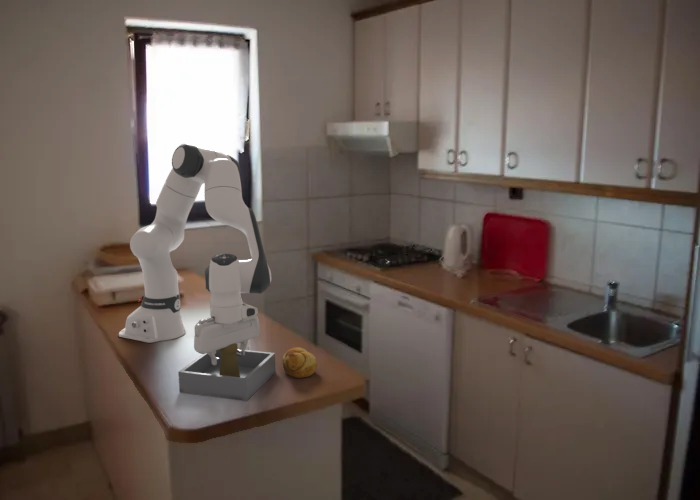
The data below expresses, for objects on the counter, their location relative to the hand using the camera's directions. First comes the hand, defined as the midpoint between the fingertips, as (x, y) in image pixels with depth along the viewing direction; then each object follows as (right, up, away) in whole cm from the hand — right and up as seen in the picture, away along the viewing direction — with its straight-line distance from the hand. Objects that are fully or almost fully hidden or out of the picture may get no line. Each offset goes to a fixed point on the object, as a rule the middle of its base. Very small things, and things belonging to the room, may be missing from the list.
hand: (228, 359), depth 176 cm
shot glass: (-1, -2, +24) cm, 24 cm away
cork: (0, -6, +1) cm, 6 cm away
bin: (0, -7, +1) cm, 7 cm away
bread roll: (+19, -5, +9) cm, 22 cm away
